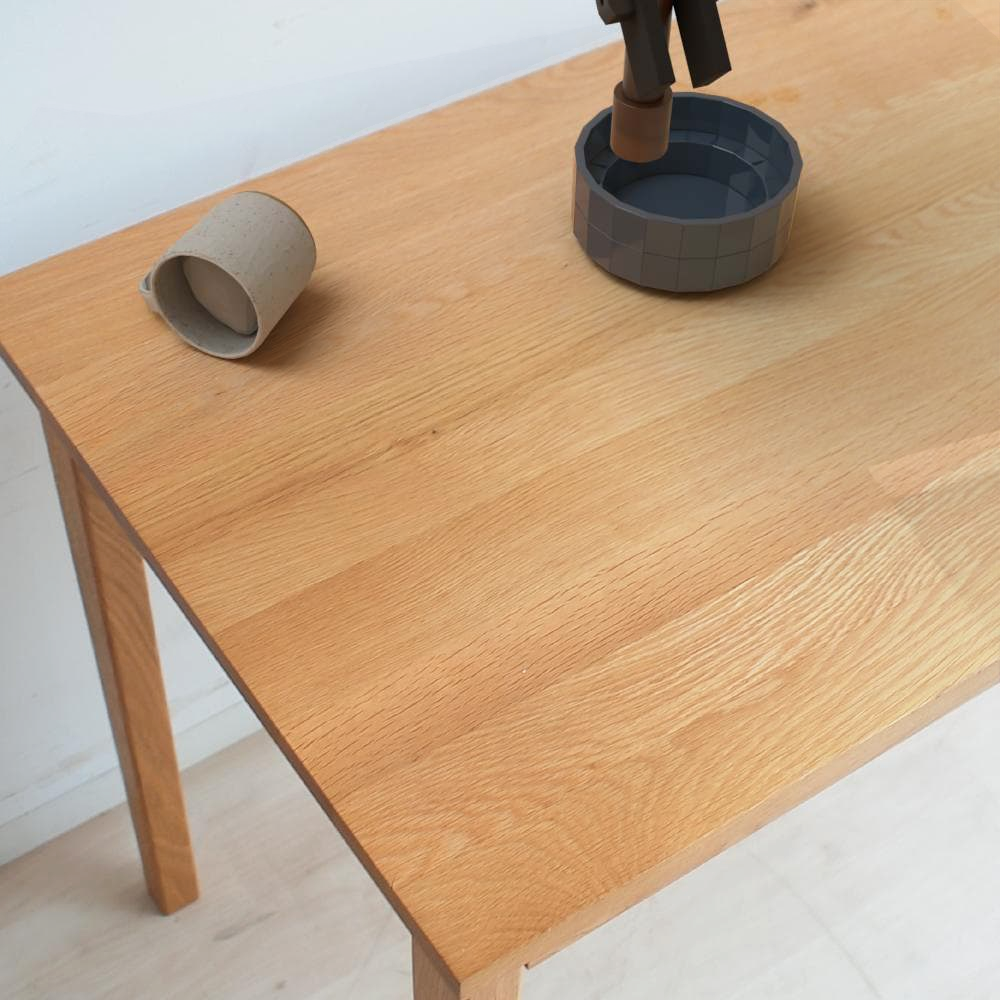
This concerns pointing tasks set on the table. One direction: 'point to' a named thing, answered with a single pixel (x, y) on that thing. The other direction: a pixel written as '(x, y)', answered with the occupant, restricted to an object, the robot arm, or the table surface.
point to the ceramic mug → (232, 274)
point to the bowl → (689, 197)
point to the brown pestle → (642, 111)
